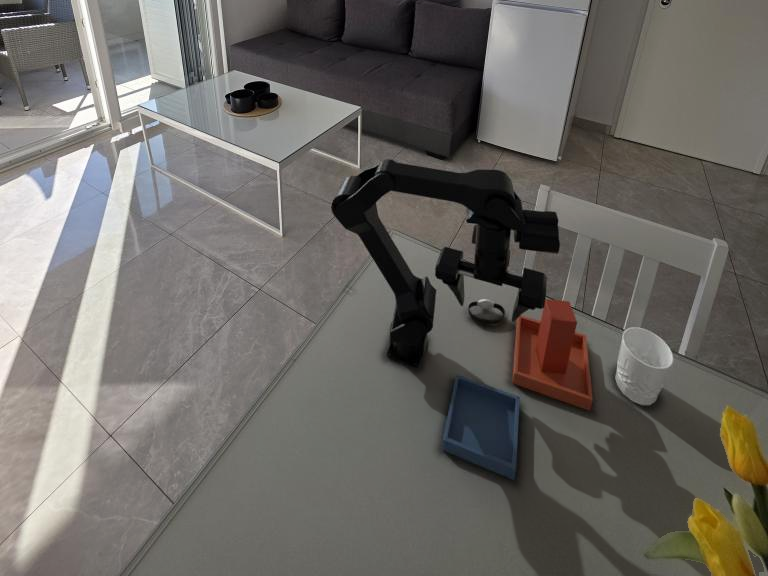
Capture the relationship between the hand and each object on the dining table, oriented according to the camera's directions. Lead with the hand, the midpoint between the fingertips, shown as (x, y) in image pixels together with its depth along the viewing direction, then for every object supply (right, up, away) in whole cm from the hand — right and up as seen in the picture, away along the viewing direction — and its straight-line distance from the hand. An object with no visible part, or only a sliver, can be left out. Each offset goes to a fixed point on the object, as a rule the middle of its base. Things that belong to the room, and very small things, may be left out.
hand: (487, 311), depth 79 cm
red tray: (+13, -13, +4) cm, 19 cm away
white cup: (+28, -14, +1) cm, 31 cm away
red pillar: (+13, -12, +4) cm, 18 cm away
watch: (+3, -9, +14) cm, 17 cm away
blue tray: (-2, -16, -6) cm, 17 cm away
